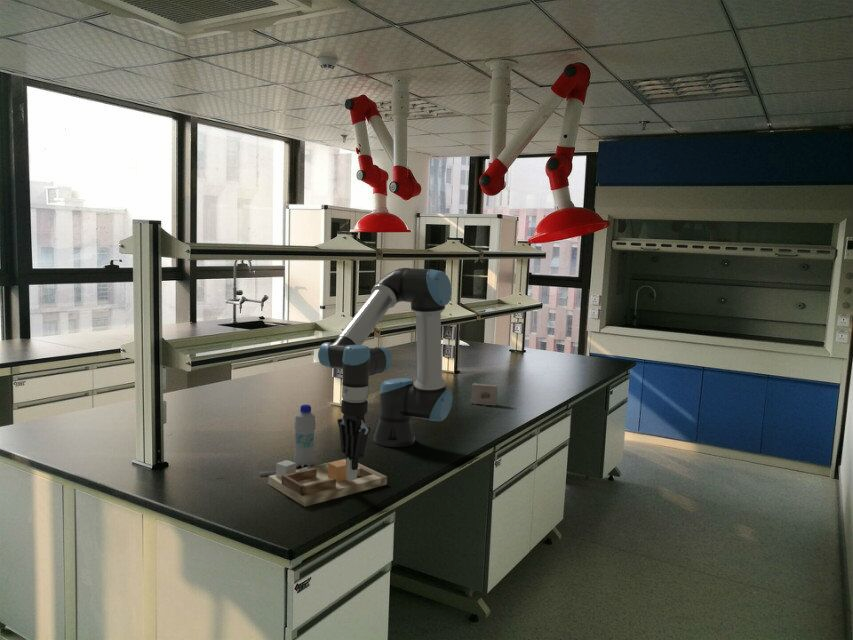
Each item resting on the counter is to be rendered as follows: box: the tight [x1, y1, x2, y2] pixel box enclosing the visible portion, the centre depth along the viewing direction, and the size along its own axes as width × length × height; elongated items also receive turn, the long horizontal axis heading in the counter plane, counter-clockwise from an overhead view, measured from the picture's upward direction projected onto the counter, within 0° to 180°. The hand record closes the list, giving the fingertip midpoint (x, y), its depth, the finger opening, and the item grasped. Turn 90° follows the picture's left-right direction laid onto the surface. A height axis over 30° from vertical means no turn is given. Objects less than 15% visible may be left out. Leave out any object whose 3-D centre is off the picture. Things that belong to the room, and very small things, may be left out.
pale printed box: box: [470, 382, 498, 406], centre depth 301 cm, size 12×4×10 cm, turn 81°
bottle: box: [293, 404, 317, 469], centre depth 206 cm, size 7×7×20 cm
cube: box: [327, 459, 347, 482], centre depth 191 cm, size 4×4×4 cm
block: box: [275, 459, 297, 478], centre depth 190 cm, size 4×4×4 cm
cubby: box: [282, 468, 336, 496], centre depth 184 cm, size 11×11×2 cm
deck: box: [267, 458, 388, 507], centre depth 192 cm, size 28×20×3 cm
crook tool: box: [259, 470, 276, 477], centre depth 197 cm, size 10×4×1 cm, turn 111°
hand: (351, 479), depth 187 cm, fingers closed
